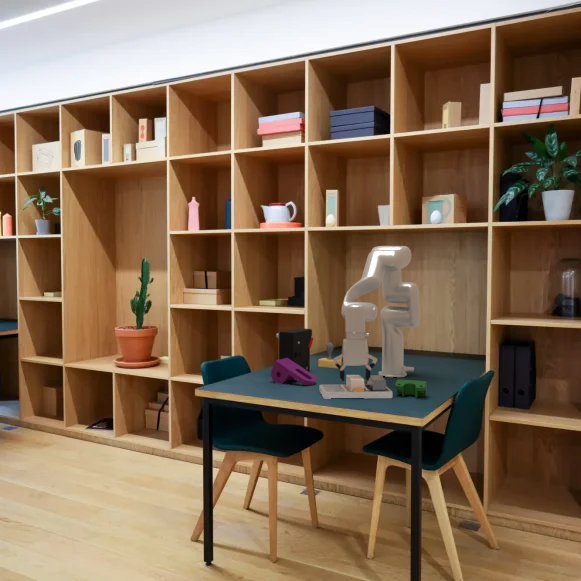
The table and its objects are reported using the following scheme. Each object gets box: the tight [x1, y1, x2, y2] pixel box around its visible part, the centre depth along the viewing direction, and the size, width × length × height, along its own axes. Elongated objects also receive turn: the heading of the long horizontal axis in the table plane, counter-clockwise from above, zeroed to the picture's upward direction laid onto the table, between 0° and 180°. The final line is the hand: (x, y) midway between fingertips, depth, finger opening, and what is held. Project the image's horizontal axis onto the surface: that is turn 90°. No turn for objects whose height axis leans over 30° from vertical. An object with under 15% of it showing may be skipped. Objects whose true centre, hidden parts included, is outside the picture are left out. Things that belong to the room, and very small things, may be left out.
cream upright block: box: [345, 374, 365, 392], centre depth 240 cm, size 10×5×6 cm, turn 6°
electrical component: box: [276, 327, 314, 376], centre depth 282 cm, size 18×10×20 cm, turn 150°
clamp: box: [394, 378, 428, 399], centre depth 238 cm, size 12×6×9 cm, turn 64°
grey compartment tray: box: [318, 374, 393, 400], centre depth 240 cm, size 26×14×6 cm, turn 95°
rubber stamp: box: [317, 342, 342, 369], centre depth 302 cm, size 10×6×12 cm, turn 62°
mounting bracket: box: [270, 358, 317, 386], centre depth 263 cm, size 10×8×18 cm
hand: (355, 380), depth 240 cm, fingers open, 9 cm apart
